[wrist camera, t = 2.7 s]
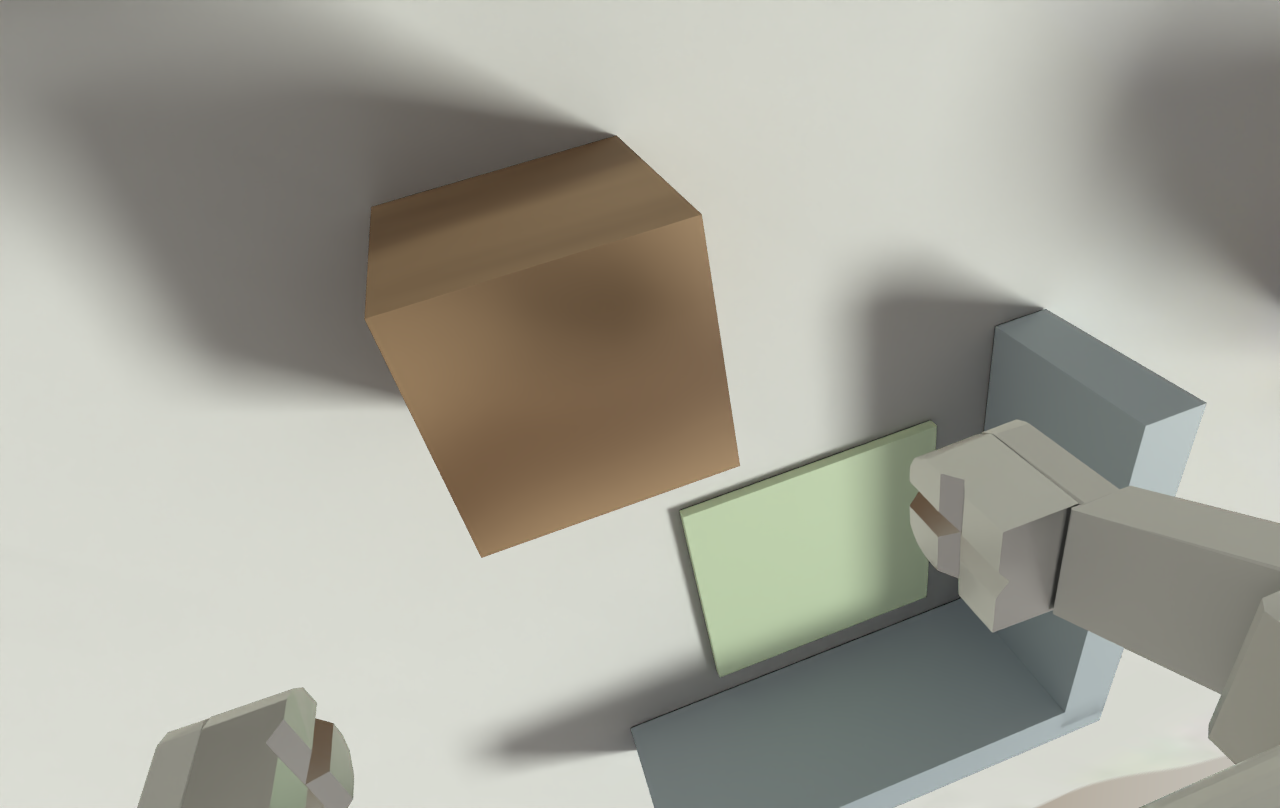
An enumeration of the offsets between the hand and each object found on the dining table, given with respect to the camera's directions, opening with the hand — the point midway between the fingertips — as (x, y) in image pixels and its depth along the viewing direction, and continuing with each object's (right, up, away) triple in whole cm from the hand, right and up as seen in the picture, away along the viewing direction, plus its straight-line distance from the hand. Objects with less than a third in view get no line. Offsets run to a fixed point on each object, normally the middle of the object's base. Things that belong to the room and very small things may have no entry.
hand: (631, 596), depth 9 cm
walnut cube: (-2, +5, +6) cm, 9 cm away
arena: (+6, -3, +15) cm, 16 cm away
